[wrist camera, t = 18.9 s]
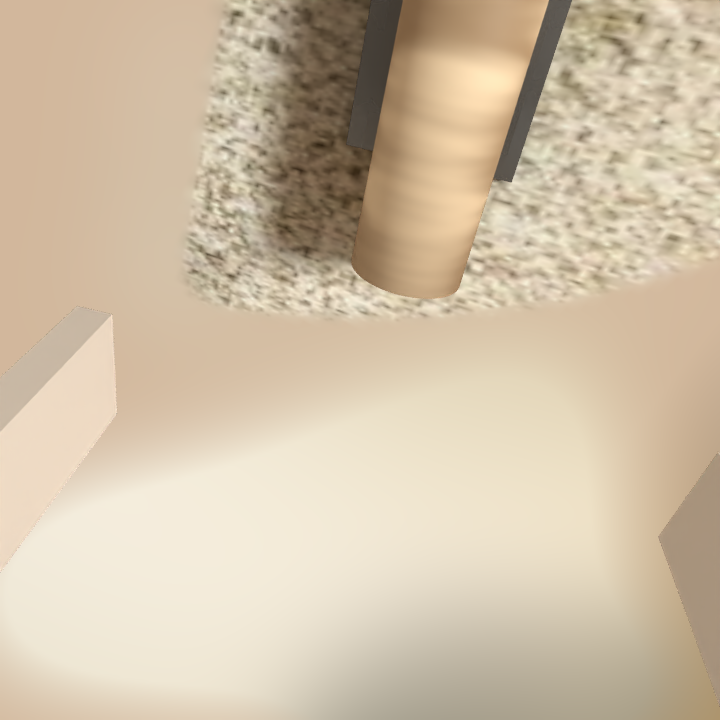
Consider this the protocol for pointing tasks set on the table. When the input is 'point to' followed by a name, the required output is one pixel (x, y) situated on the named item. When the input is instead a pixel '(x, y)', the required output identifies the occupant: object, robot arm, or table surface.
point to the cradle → (378, 63)
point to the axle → (441, 139)
